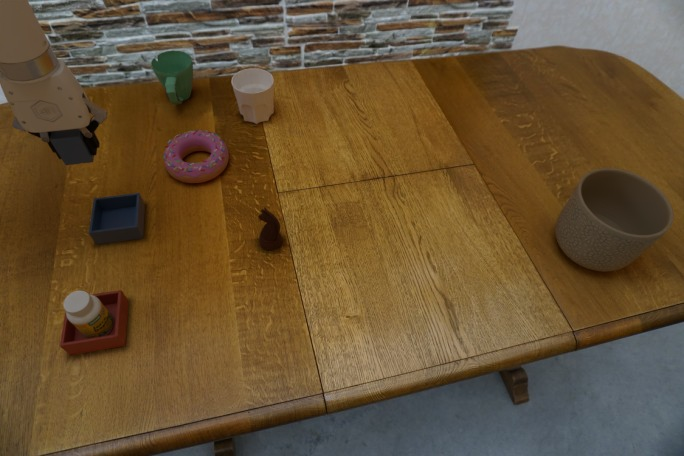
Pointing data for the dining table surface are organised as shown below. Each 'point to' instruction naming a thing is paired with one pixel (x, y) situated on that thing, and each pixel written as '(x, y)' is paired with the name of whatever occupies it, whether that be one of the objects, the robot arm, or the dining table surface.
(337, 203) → the dining table surface
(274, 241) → the chess piece
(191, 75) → the mug
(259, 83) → the cup
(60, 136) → the blue block
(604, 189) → the planter
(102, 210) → the blue bin
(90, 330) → the supplement bottle
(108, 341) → the red bin
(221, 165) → the donut
